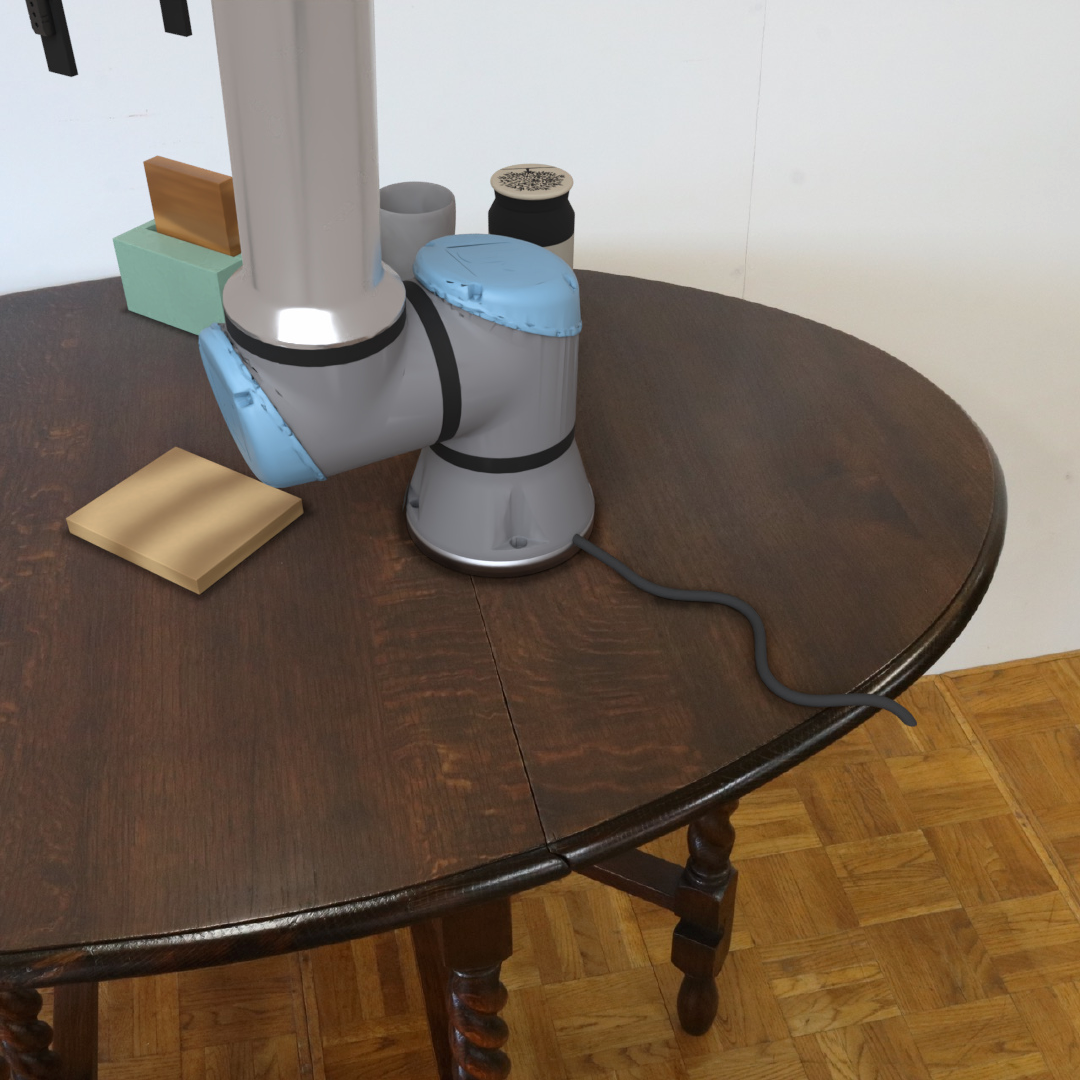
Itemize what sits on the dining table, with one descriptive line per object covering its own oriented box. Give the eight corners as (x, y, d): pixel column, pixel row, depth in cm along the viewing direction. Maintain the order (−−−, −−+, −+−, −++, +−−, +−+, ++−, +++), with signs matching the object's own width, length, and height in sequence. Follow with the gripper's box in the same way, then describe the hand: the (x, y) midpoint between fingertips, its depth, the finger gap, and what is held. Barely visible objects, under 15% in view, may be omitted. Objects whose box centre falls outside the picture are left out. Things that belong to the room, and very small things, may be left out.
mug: (464, 266, 133) (461, 183, 127) (450, 303, 126) (447, 217, 120) (359, 259, 134) (351, 176, 128) (339, 295, 127) (331, 210, 121)
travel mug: (570, 375, 115) (577, 197, 103) (488, 374, 115) (485, 195, 103) (569, 335, 121) (575, 162, 110) (491, 334, 121) (489, 161, 110)
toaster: (186, 270, 131) (173, 201, 126) (294, 306, 125) (285, 235, 120) (117, 306, 124) (100, 234, 119) (228, 346, 118) (216, 272, 113)
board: (303, 513, 97) (301, 498, 96) (199, 595, 89) (196, 580, 88) (178, 460, 103) (175, 445, 102) (69, 533, 95) (65, 518, 94)
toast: (178, 266, 125) (157, 154, 117) (250, 290, 121) (233, 176, 113) (165, 274, 124) (142, 161, 116) (237, 298, 120) (218, 183, 112)
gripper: (150, -250, 101) (191, 12, 115) (-106, -221, 85) (-23, 83, 98) (216, -244, 98) (251, 25, 112) (-36, -212, 82) (41, 100, 95)
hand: (123, 53), depth 105 cm, fingers open, 13 cm apart
